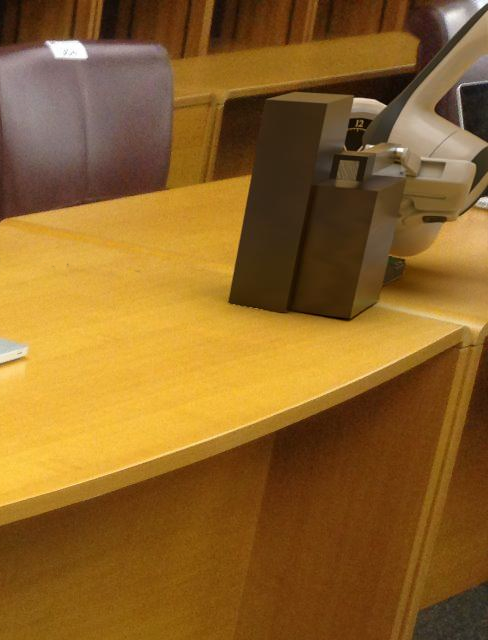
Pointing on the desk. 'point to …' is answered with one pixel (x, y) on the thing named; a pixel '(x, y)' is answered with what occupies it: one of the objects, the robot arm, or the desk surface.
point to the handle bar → (362, 162)
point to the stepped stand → (312, 216)
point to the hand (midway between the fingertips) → (385, 151)
